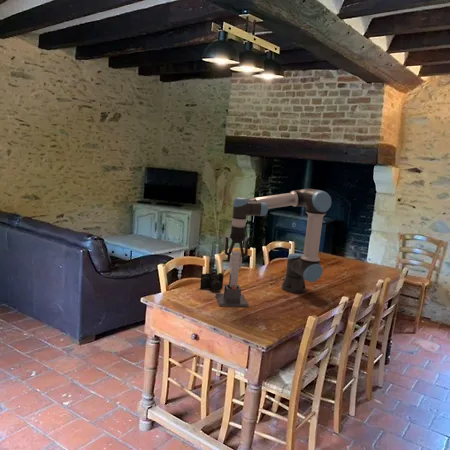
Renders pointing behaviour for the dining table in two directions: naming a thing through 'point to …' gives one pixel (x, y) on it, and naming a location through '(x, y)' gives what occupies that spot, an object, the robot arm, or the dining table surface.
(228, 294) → the stand base
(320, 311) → the dining table surface
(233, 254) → the column
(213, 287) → the camera
